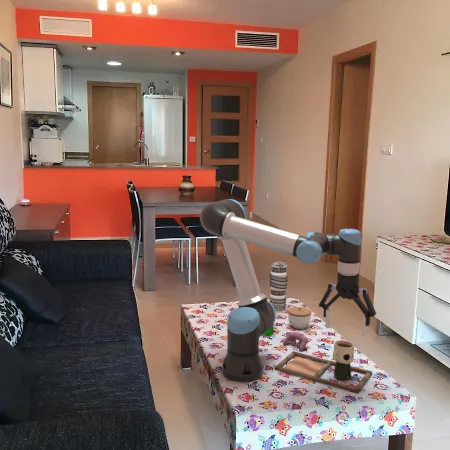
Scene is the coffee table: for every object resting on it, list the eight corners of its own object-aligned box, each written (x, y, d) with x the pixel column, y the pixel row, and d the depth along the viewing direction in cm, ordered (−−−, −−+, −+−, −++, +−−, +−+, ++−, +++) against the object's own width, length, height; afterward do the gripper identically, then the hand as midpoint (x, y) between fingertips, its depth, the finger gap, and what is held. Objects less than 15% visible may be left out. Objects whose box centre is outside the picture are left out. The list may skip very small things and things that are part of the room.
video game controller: (306, 353, 204) (311, 336, 205) (301, 351, 201) (305, 334, 202) (286, 346, 210) (291, 330, 212) (281, 344, 207) (286, 328, 208)
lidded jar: (308, 322, 234) (309, 303, 232) (312, 330, 224) (313, 311, 222) (285, 322, 234) (286, 303, 232) (289, 330, 223) (290, 311, 222)
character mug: (339, 385, 174) (341, 350, 172) (324, 377, 180) (326, 343, 178) (359, 377, 180) (362, 343, 178) (345, 369, 186) (346, 337, 184)
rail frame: (358, 393, 169) (358, 390, 169) (274, 369, 185) (274, 367, 185) (372, 374, 183) (372, 371, 183) (293, 353, 200) (293, 351, 199)
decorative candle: (266, 307, 254) (268, 260, 249) (284, 307, 255) (285, 260, 250) (270, 313, 245) (271, 265, 240) (288, 313, 246) (290, 264, 241)
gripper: (387, 275, 170) (383, 333, 174) (318, 265, 183) (317, 320, 187) (381, 280, 164) (377, 341, 167) (311, 270, 177) (309, 326, 180)
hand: (345, 330), depth 177 cm, fingers open, 13 cm apart
